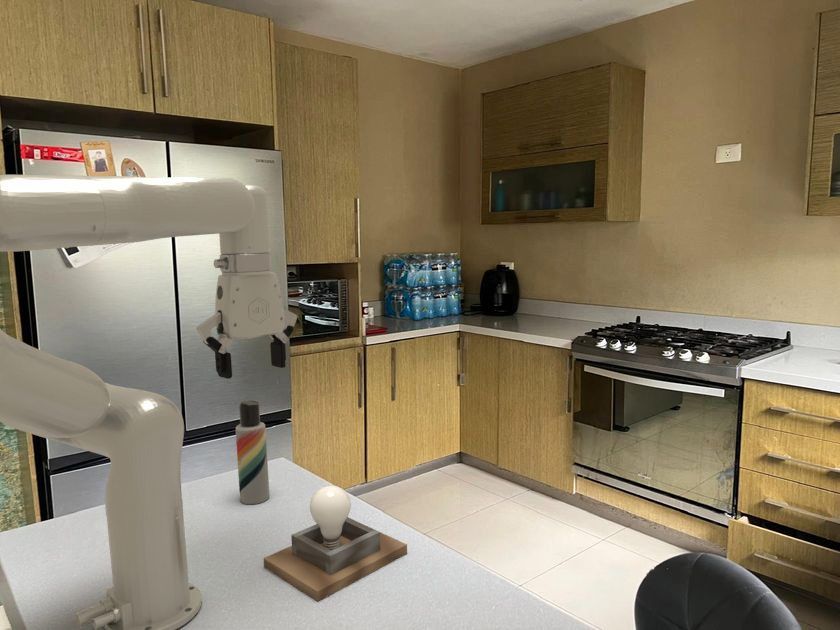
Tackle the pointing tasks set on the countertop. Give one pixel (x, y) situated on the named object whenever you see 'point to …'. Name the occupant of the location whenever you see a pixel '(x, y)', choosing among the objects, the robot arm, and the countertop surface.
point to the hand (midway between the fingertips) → (252, 371)
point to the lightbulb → (330, 513)
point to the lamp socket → (333, 558)
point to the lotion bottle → (252, 455)
